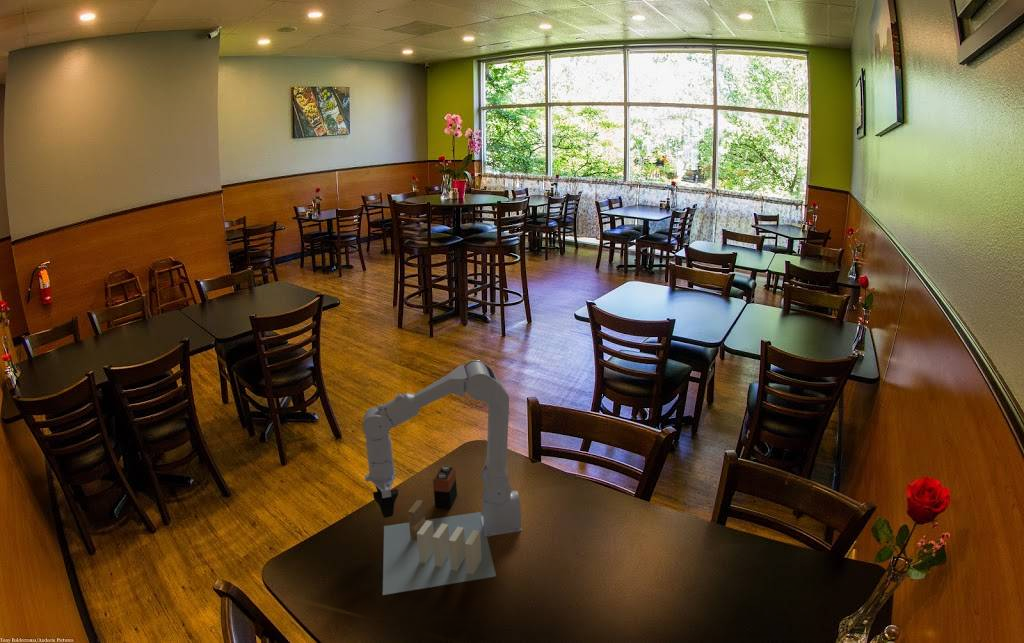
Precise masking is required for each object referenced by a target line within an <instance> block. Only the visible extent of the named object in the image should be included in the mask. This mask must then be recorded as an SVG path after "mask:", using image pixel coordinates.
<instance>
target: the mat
mask: <svg viewBox="0 0 1024 643" xmlns="http://www.w3.org/2000/svg"><path fill="white" fill-rule="evenodd" d="M481 516H483V513H482V512H481V511H478V512H472V513H463V514H457V515H451V516H443V517H439V518H438V517H437V518H431V519H425V522H426V521H427V520H428V521H433V530H434V534H435V533H436V531H437V530H438V528H439V527H440V525H441V524H442V523H443V524H448V528H449V539H450V537H451V536H452V534H453V533H454V531H455V530H456V528H457V527H463V528H464V535H465V543H466V541H467V539H468V538H469V536H470V535H471V533H472V531H473V530H478V531H480V539H481V557H482V560H481V562H480V564H479V565H478V567H477V569H476V571H475V573H474V574H469V573H467V567H466V557H465V559H464V560H463V562H462V564H461V565H460V567H459V569H458V570H457V571H456V570H451V565H450V554H449V556H448V558H447V559H446V561H445V562H444V564H443V565H442V567H438V566H435V560H434V552H433V554H432V555H431V557H430V558H429V560H428V561H427V563H426V564H425V563H420V562H419V551H418V541H417V540H412V539H411V536H410V526H409V522H403V523H397V524H390V525H383V556H382V557H383V561H382V562H383V564H382V565H383V567H382V568H383V569H382V596H386V595H393V594H398V593H405V592H411V591H416V590H422V589H428V588H433V587H440V586H447V585H452V584H459V583H463V582H464V583H465V582H471V581H476V580H483V579H489V578H494V577H497V574H496V570H495V565H494V561H493V558H492V553H491V549H490V544H489V540H488V536H485V535H484V531H483V527H482V523H481V518H480V517H481Z"/></svg>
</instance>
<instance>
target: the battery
mask: <svg viewBox="0 0 1024 643" xmlns="http://www.w3.org/2000/svg"><path fill="white" fill-rule="evenodd" d="M432 483H433V485H432V487H433V498H434V507H435V509H441V510H451V508H452V506H453V504H454V502H455V500H456V499H457V497H458V491H457V489H458V487H457V476H456V468H455V467H453V466H452V467H451V466H450V465H449V464H444V465H442V466H440V467H439V469H438V470H437V472H436V474H435V476H434V477H433V479H432Z"/></svg>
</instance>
